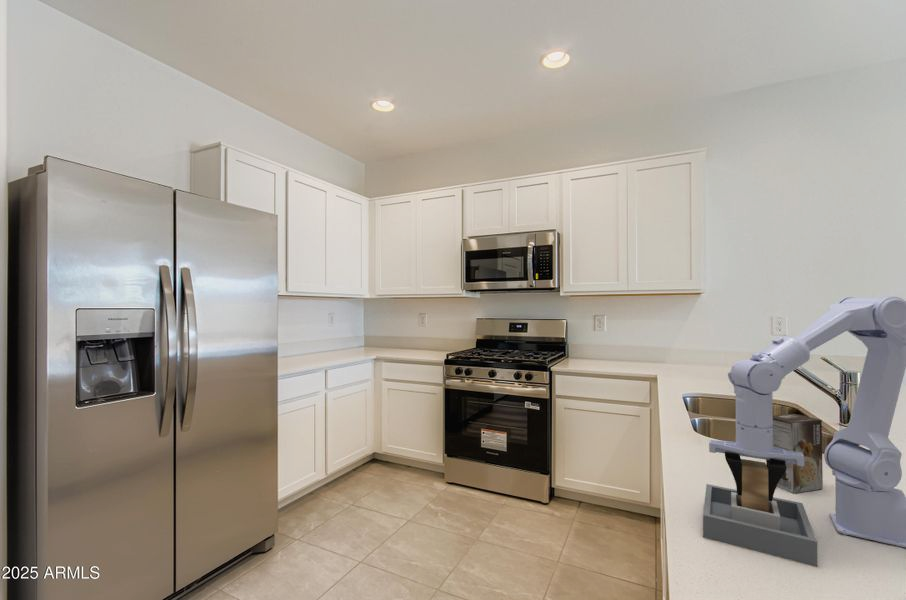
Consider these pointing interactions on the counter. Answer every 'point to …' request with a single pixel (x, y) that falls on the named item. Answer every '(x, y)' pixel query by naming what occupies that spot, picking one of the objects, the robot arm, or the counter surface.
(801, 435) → the coffee box
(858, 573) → the counter surface
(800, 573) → the counter surface
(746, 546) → the socket box
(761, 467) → the peg
